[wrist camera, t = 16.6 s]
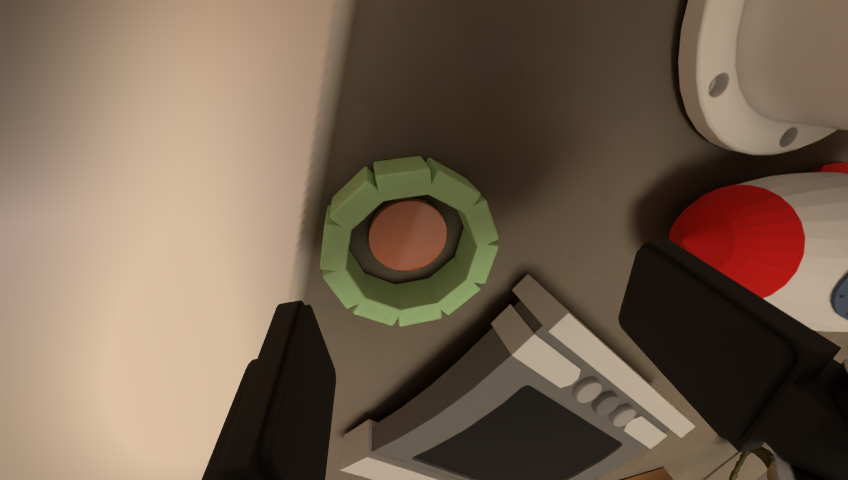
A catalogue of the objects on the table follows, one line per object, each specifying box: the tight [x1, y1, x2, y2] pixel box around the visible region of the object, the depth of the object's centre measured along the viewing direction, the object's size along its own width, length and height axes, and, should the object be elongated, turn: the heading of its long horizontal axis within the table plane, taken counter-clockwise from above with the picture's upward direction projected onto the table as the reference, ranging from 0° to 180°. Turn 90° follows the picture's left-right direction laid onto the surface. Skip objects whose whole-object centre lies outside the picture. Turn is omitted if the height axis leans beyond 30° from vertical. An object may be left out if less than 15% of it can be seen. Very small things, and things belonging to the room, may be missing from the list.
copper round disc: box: [368, 198, 447, 271], centre depth 15 cm, size 4×4×1 cm
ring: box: [320, 156, 499, 327], centre depth 14 cm, size 7×7×2 cm
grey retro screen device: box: [340, 274, 695, 480], centre depth 21 cm, size 17×5×16 cm
